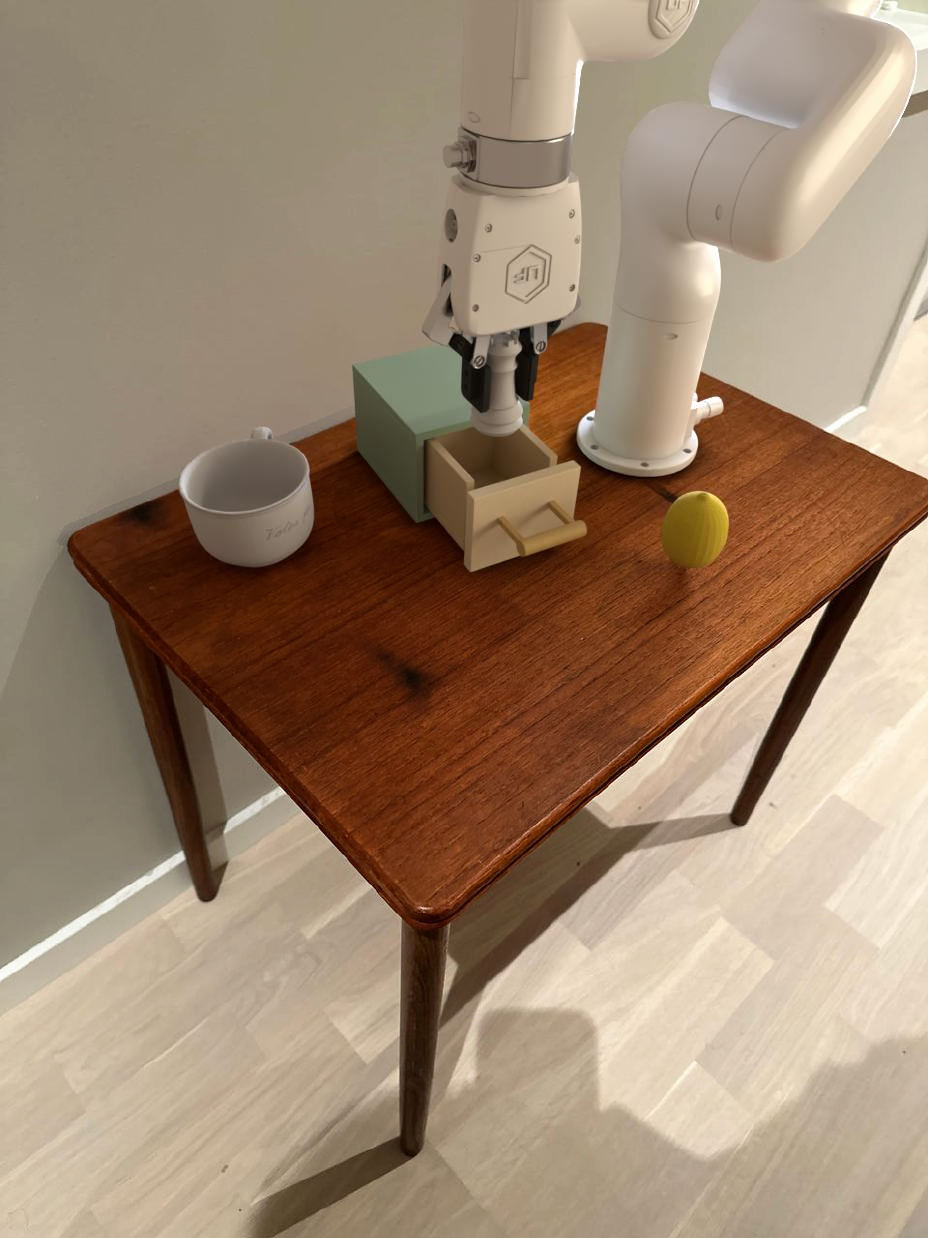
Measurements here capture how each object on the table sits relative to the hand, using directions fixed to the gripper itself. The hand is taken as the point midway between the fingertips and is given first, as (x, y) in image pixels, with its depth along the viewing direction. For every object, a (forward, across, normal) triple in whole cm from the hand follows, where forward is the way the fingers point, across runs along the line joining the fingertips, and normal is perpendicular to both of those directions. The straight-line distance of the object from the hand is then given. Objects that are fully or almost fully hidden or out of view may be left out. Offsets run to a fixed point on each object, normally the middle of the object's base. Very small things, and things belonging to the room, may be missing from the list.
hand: (498, 396), depth 71 cm
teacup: (+14, -19, +8) cm, 25 cm away
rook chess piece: (+3, 0, 0) cm, 3 cm away
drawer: (+13, 0, -2) cm, 13 cm away
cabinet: (+14, 0, +10) cm, 17 cm away
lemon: (+14, +13, -12) cm, 23 cm away
